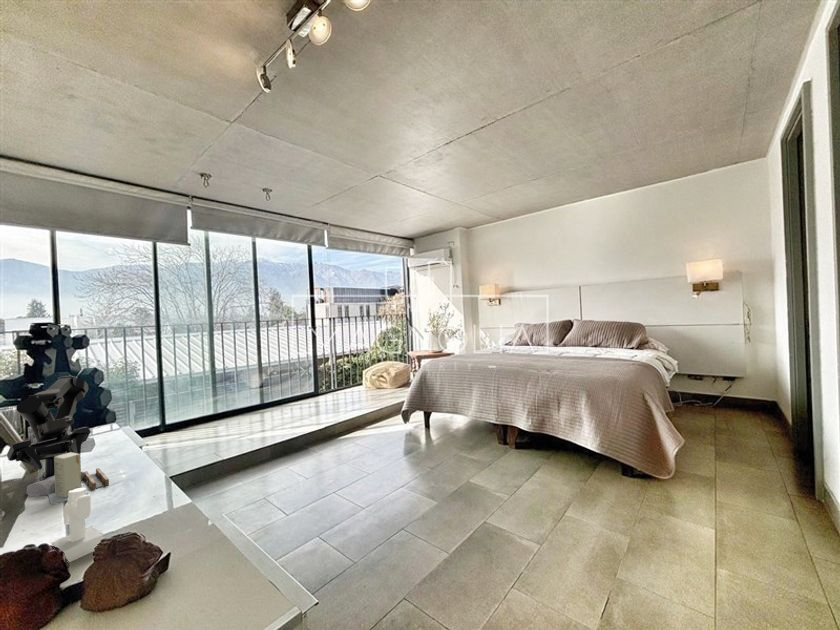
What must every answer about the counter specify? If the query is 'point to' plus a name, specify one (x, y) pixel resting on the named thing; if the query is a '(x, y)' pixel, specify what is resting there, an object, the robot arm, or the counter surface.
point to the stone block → (45, 486)
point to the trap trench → (96, 479)
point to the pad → (59, 497)
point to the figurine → (78, 527)
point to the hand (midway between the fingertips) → (60, 462)
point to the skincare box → (67, 473)
